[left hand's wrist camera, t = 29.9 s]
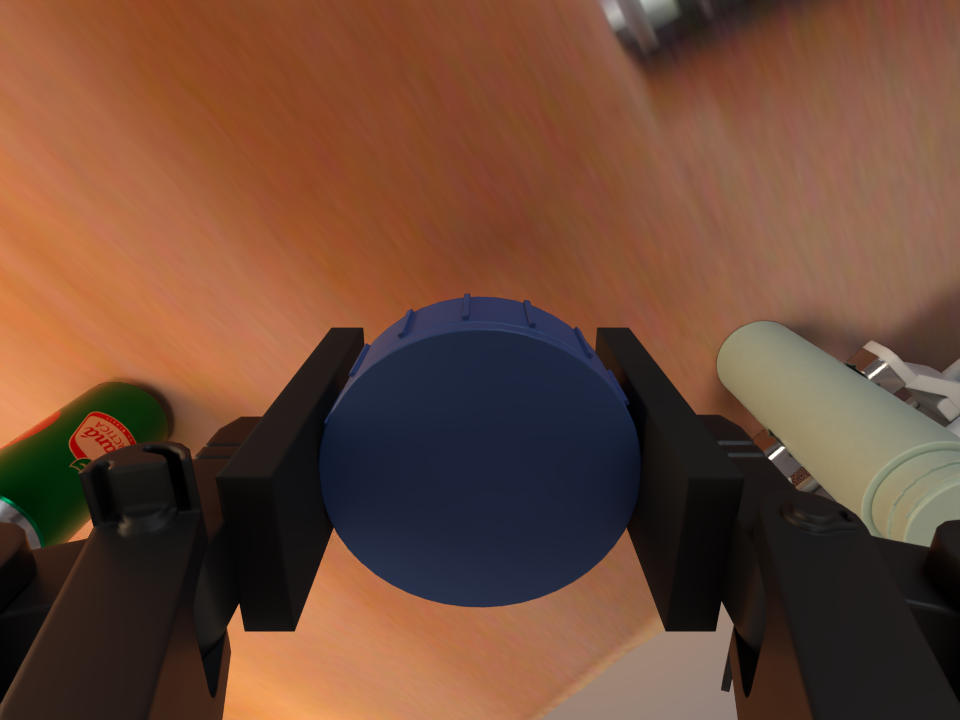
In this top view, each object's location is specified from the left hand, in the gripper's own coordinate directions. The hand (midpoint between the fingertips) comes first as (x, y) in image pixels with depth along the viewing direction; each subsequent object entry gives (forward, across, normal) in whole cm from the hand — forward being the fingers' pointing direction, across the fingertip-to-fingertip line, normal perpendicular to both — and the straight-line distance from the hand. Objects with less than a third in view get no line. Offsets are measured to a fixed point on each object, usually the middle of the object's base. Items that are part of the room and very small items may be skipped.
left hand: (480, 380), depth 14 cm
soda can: (+18, -21, -10) cm, 29 cm away
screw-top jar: (+18, +16, -6) cm, 24 cm away
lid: (-4, 0, 0) cm, 4 cm away
